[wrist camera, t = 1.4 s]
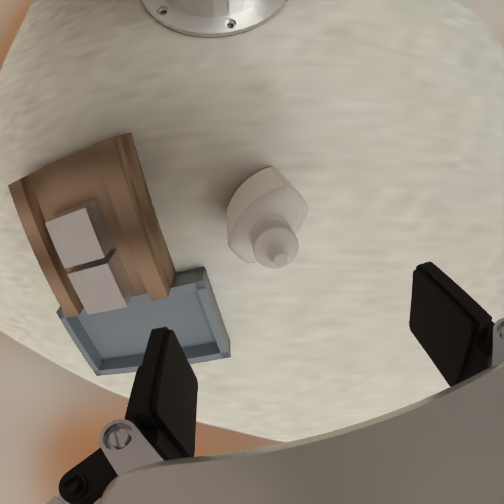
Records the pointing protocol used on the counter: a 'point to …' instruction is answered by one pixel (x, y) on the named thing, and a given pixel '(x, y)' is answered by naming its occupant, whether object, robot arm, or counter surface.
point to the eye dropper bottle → (265, 219)
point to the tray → (152, 326)
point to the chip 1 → (80, 234)
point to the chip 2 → (102, 284)
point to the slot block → (114, 209)
